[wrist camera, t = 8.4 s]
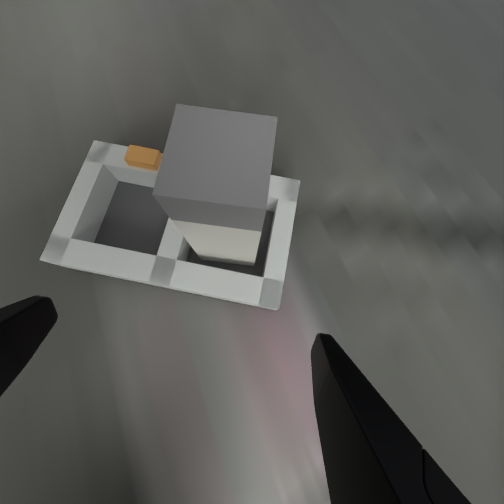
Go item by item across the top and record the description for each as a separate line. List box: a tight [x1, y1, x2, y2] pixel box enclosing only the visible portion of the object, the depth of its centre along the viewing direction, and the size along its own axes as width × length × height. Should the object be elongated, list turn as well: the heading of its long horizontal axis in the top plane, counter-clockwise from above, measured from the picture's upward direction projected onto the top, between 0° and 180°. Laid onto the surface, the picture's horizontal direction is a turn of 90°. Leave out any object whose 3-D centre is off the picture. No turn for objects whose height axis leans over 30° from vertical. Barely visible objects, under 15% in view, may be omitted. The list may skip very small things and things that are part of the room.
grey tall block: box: [152, 104, 278, 266], centre depth 15 cm, size 4×4×11 cm
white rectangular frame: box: [40, 140, 300, 310], centre depth 19 cm, size 10×18×4 cm, turn 78°
